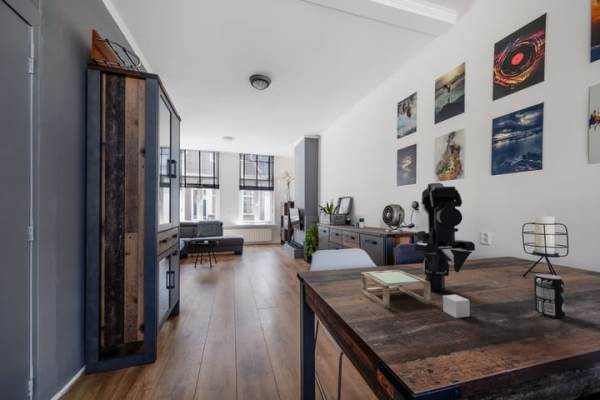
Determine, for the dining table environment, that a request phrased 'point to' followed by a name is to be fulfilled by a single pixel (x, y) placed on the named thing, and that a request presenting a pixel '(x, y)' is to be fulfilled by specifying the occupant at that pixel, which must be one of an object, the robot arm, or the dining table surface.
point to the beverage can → (549, 295)
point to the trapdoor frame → (392, 288)
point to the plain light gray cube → (456, 306)
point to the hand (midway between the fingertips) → (445, 273)
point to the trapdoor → (394, 278)
